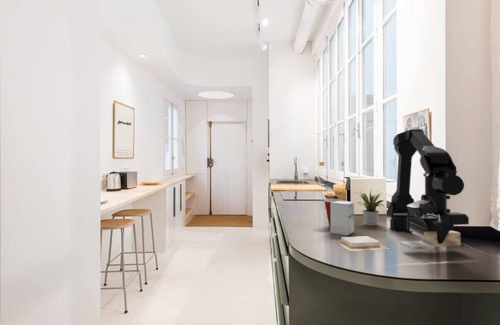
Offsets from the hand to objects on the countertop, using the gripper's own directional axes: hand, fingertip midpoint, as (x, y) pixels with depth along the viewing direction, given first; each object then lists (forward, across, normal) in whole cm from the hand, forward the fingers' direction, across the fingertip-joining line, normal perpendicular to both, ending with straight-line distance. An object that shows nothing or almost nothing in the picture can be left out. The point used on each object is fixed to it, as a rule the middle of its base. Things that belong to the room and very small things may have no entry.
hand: (436, 242), depth 94 cm
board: (+4, -12, -19) cm, 23 cm away
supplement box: (+4, -30, -17) cm, 35 cm away
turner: (+1, 0, -2) cm, 2 cm away
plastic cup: (+4, -43, -14) cm, 45 cm away
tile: (+2, -12, -14) cm, 18 cm away
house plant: (+4, -45, +2) cm, 45 cm away
